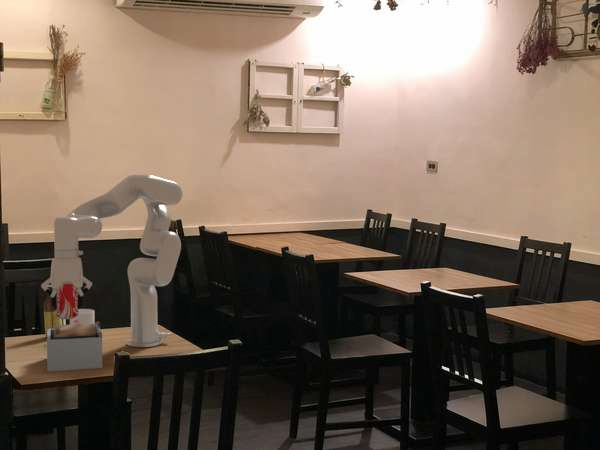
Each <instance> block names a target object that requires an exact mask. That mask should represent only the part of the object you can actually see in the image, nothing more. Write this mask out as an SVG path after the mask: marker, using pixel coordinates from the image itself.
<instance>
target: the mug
mask: <svg viewBox="0 0 600 450" xmlns="http://www.w3.org/2000/svg"><path fill="white" fill-rule="evenodd" d="M92 323H94V325H95V323H96V322H95V310H94V309H91V308H78V316H76V317H75V318H73V319H69V325H72V324H92ZM62 325H67V324H66V319H62Z"/></svg>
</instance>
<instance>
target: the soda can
mask: <svg viewBox="0 0 600 450" xmlns="http://www.w3.org/2000/svg"><path fill="white" fill-rule="evenodd" d="M61 284H62V285H61V286H60V287H59V288H58V289H57V292H56V314H57V317H59V318H60V319H62V320H63V319H65V320H70V319H73V318H75V317H76V316H78V309H79V308H78V296H79V293H78V291H77V288H76V287H75V286H74V285H73V284H72V283H61Z"/></svg>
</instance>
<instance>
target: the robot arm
mask: <svg viewBox="0 0 600 450" xmlns="http://www.w3.org/2000/svg"><path fill="white" fill-rule="evenodd" d="M140 199H142V201H143V202H144V204H145V207H146V210H147V218H146V224H145V227H144V228H143V229H144V230H143V232H142V235H141V238H140V239H141V240H140V244H139V250H140V251H141V253H143V255H146V256H152V257H156V258H149V257H137V258H135V259H132V260H131V261H130V262H129V265H128V267H127V278H128V282H129V283H128V284H129V288H130V289H129V290H130V339H127V340H126V345H127V346H128V347H132V348H133V347H134V348H152V347H156V346H160V345H161V344H162V343H163V340H162V339H171V335H172V334H171V332H166V331H165V332H163V331H162V332H160V331H159V329H158V291H157V289H156V287H164V286H167V285H169V284H170V282H171V281H172V279H173V277H174V274H175V270H176V267H177V264H178V260H179V257H180V254H181V250H182V243H181V242H182V241H181V239H180V236H179V235H178V234H177V233H176V232H174V231H169V229H170V224H171V220H172V219H171V213H170V210H169V208H168V206H176V205H178V204H179V203H180V202H181V201H182V199H183V190H182V187H181V186H180V184H179V183H177V182H175V181H173V180H172V181H171V180H168V179H165V178H162V177H158V176H155V175H150V174H131V175H128V176H126V177H125V178H124V179H122V180H121V181H120V182H119V183H117V184H115V186H113V187H112V188H111V189H110V190H109V191H107V192H106V193H104V194H102V195H100V196H98V197H95V198H92V199H91V200H88V201H86V202H83V203H82V204H80V205H78V206H77V207H76V208H74V209H72V210H71V211H70V212H69V213H68V214H67V215H66V216H59V217H56V218H54V222H53V234H54V235H53V238H54V239H53V240H54V243H53V244H54V258H52V259H51V265H50V277H49V278H48V279H47V280H45V281H44V282H43V283H42V284H41V286H40V287H41V289H42V290H43V291H44V292H45V293H47V294H49V295H50V296H51V297H52V307H54V310H56V297H55V294H56V292H57V289H58V288H59V287H60V286H61V285H62V284H61V283H72V284H73V285H74V286H75V287H76V288H77V291H78V309H82V308H81V306H83V305H84V303H83V301H84V299H83V298H84V295H85V294H86V293H87V292H88V291H89V290H90V289H91V287H92V286H93V282H92V281H90V280H89V279H88V278H86V277H85V276H84V275H83V274H84V273H83V263H82V258H81V257H80V256H83V255H84V251H83V250H80V249H79V238H85V239H93V238H95V237H98V236H99V235H101V233H102V230H103V223H102V221H101V219H104V218H111V217H114V216H118V215H120V214H122V213H123V212H124V211H125V210H127V208H129V207H130V206H132V204H134V203H135V202H136V201H138V200H140ZM84 283H85V284H86V285H85V286H84V288H83V284H84ZM47 285H51V287H52V289H53V291H51V290H50V289H48V287H47ZM82 288H83V289H82Z"/></svg>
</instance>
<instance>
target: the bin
mask: <svg viewBox="0 0 600 450" xmlns="http://www.w3.org/2000/svg"><path fill="white" fill-rule="evenodd" d="M100 324H101V323H100V321H96V322H95V330H96V335H89V336H71V337H54V329H48V331H47V337H46V350H47V351H46V358H47V359H46V362H47V363H46V364H47V367H46V368H47V370H46V371H47V373H48V372H62V371H75V370H93V369H103V368H104V367H103V332H102V331H101V327H100V326H101V325H100Z"/></svg>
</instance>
